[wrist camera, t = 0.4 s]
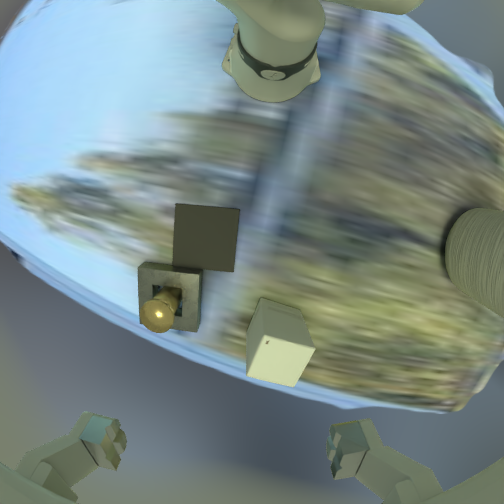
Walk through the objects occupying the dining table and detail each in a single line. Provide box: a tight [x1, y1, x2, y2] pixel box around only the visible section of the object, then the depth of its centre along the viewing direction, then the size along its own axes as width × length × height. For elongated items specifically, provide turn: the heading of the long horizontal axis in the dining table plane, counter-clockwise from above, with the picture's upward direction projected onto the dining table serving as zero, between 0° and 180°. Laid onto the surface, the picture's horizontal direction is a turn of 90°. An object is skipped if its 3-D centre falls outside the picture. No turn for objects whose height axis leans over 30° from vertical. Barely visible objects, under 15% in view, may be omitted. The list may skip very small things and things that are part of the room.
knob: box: [140, 286, 183, 333], centre depth 50 cm, size 6×6×11 cm
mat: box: [173, 204, 240, 272], centre depth 53 cm, size 12×12×1 cm
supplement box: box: [246, 298, 315, 387], centre depth 50 cm, size 9×9×15 cm
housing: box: [138, 262, 203, 332], centre depth 54 cm, size 12×12×4 cm
